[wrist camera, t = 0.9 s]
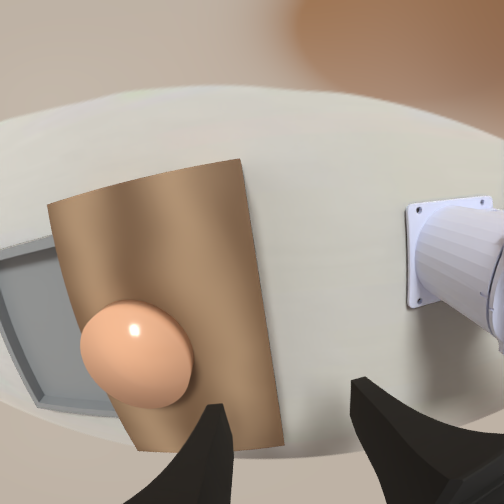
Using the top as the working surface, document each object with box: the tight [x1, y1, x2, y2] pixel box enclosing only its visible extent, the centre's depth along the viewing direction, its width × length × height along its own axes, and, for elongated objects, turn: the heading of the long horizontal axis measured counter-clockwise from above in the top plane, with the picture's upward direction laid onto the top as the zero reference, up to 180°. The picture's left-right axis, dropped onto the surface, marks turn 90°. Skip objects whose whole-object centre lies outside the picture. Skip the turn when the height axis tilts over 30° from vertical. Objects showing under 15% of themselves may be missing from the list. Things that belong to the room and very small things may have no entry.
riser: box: [47, 159, 284, 453], centre depth 19 cm, size 12×20×4 cm, turn 9°
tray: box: [0, 235, 119, 418], centre depth 20 cm, size 12×16×2 cm
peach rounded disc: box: [80, 299, 194, 409], centre depth 16 cm, size 7×7×2 cm
